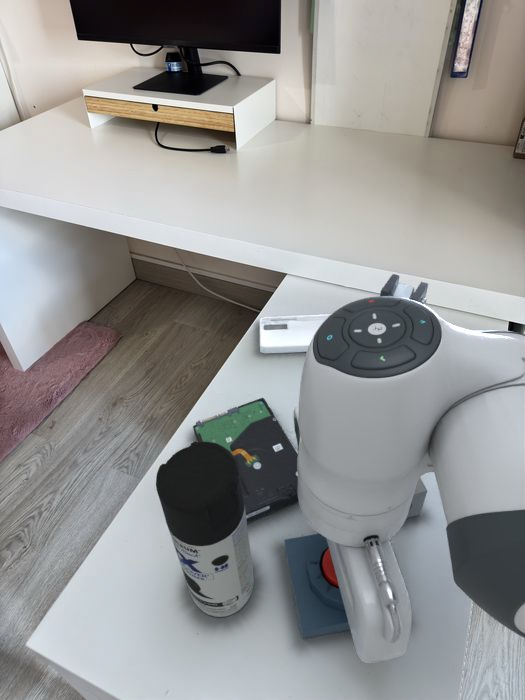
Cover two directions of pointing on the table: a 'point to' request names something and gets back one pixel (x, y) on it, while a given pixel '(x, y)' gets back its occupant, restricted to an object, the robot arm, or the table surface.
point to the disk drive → (256, 455)
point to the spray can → (208, 525)
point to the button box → (314, 588)
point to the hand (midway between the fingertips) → (342, 562)
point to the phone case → (289, 333)
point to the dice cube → (417, 499)
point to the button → (329, 570)
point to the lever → (404, 291)
